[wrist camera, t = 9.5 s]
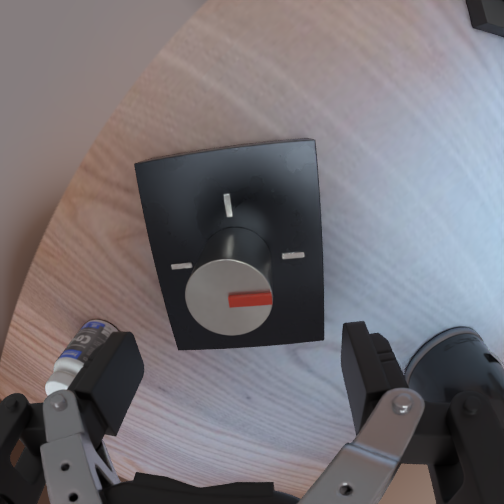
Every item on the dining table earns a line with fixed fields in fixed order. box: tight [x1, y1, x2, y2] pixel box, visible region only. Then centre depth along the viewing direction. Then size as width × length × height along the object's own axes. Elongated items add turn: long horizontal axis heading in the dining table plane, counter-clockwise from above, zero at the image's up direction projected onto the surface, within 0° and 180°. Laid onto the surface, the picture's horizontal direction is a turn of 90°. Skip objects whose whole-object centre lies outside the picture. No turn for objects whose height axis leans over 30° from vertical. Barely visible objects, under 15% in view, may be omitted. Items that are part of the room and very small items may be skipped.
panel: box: [134, 138, 324, 350], centre depth 22 cm, size 14×11×3 cm
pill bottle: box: [45, 320, 119, 396], centre depth 24 cm, size 5×5×8 cm
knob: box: [185, 228, 273, 335], centre depth 18 cm, size 4×4×5 cm
